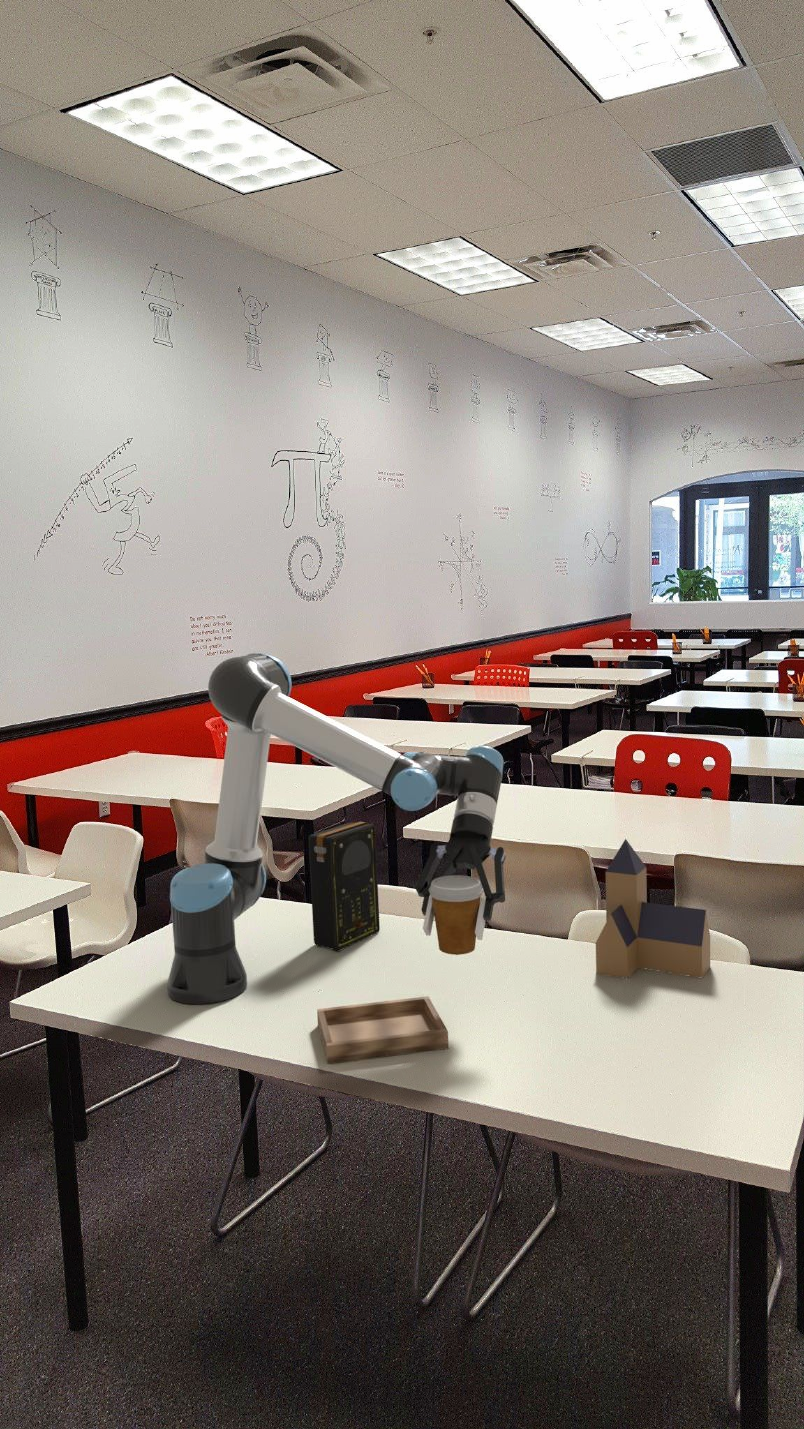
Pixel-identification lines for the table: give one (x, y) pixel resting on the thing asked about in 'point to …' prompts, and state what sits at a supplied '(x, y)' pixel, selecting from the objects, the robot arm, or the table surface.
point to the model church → (647, 927)
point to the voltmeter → (344, 885)
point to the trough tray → (381, 1029)
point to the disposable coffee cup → (456, 912)
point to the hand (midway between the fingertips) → (452, 934)
